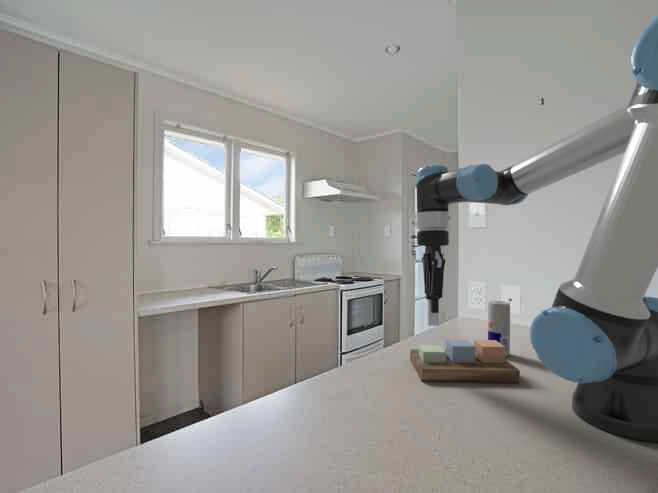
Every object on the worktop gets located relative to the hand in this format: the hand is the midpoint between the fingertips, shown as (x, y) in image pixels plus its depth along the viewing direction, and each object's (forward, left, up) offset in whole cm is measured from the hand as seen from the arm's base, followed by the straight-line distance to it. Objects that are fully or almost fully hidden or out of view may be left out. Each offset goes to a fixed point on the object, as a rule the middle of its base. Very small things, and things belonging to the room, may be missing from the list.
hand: (433, 324), depth 86 cm
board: (0, -7, -12) cm, 13 cm away
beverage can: (+13, -22, -12) cm, 28 cm away
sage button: (0, 0, -10) cm, 10 cm away
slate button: (0, -7, -9) cm, 11 cm away
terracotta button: (0, -14, -9) cm, 16 cm away
